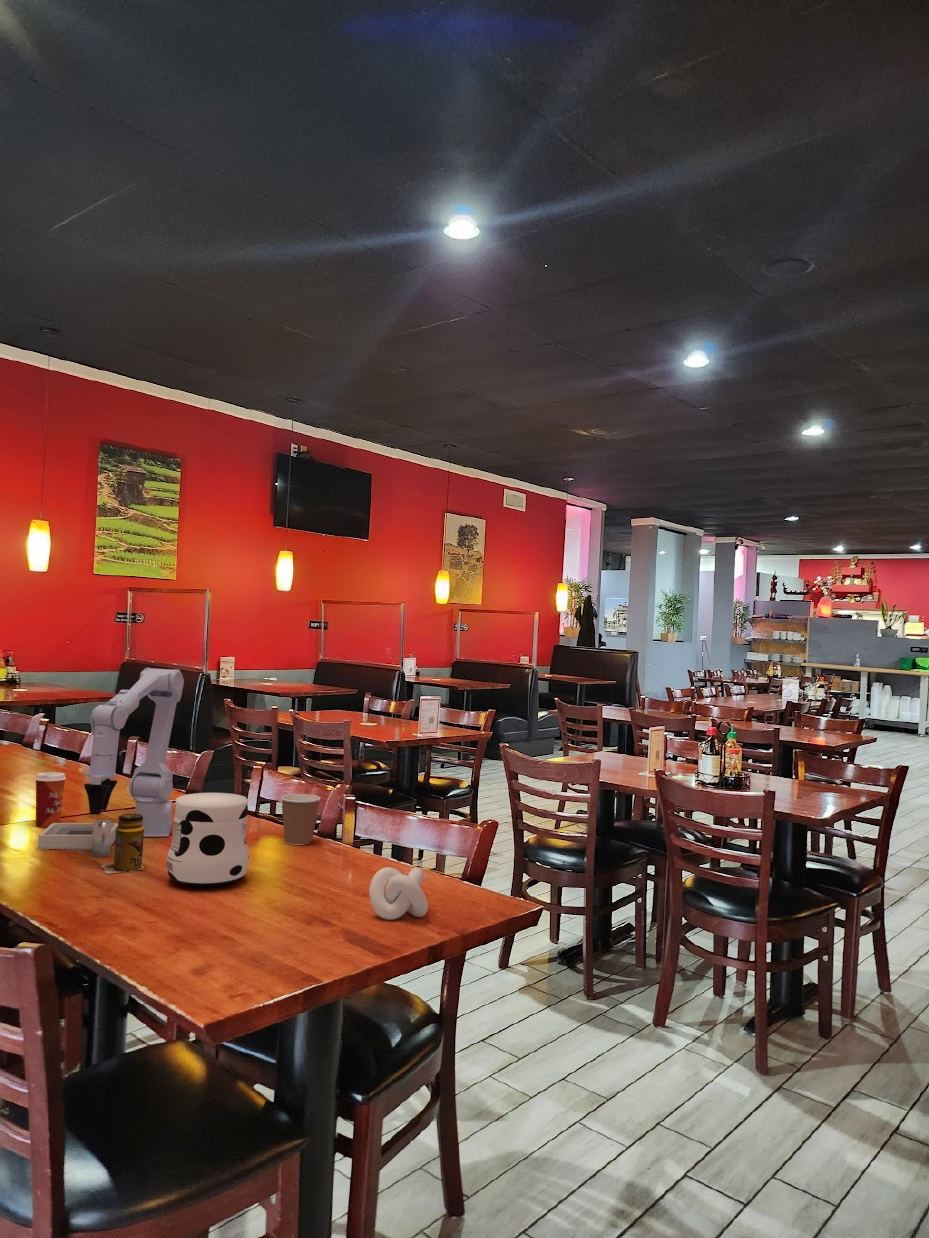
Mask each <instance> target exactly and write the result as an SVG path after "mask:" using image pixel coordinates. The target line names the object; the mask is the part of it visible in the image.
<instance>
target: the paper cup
mask: <svg viewBox="0 0 929 1238" xmlns="http://www.w3.org/2000/svg"><path fill="white" fill-rule="evenodd" d="M65 780H67V777H66V774H65V773H64V772H58V771H46V772H38V773H37V774H36V777H34V781H35V827H36V828H39V829H42V828H43V829H47V828H48V827H49V826H50V825H51V824H52V823H60V821H61V814H62V804H63V796H64V790H65V789H64V788H65V782H66V781H65Z"/></svg>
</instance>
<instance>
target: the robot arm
mask: <svg viewBox="0 0 929 1238" xmlns="http://www.w3.org/2000/svg"><path fill="white" fill-rule="evenodd" d="M184 684H185V680H184V676H183V674H182V672H181V670H180V669H178V668H177V669H167V668H166V669H165V668H151V667H145V668H144V669H143V670H142V671H141V672H140V675H139V679H138V681H136V682H135V684H133V686H131V687H130V689H121V690H119V691H118V693H117V694H116V695H114V696H113V697H112V698H111V699H110V700H108V701H107V702H106V703H105V704H99V705H97V706H96V707H94V708H93V710H92V711H91V715H89V723H90V725H91V735H92V736H93V737H92V746H91V756H90V757H91V758H90V765H89V766H90V767H89V772H84V773H83V776H84V777H89V778H91V781H90V782H91V783H87V782H86V783H84V784H83V785H84V790H85V791H86V795H87V799H88V801H87V802H88V809H89V814H90V815H93V816H96V815H98V816H100V815H101V812H102V811H106V810H107V809H108V805H109V802H110V799H111V796H112V793H113V791H114V789H115V787H116V785H117V783H118V780H115V778H116V777H117V774H116V769H117V760H118V759H117V757H118V750H119V749H118V748H119V739H120V732H121V729H124V727H125V725H126V722H127V720H128V718H129V715H131V714H132V713H133V712H134V711H135V710H137V708H138V707H139V705H140V701H141V700H142V699H143V698H144V697H146V696H147V697H148V698H149V699H150V700H152V701H153V702H154V703H155V708H154V714H153V720H152V724H151V729H150V733H149V734H150V735H149V739H148V743H147V744H148V745H147V750H146V753H145V754H146V755H145V759H144V762H143V763H142V764H140V765H139V766H137V767H135V769H134V772H133V775H132V778H131V779H130V781H129V786H128V791H129V794H130V797H132V800H133V801H134V802H135V807H134V809H135V810H134V814H141V815H142V816H143V825H142V826H143V827H144V838H148V837H149V838H157V837H158V838H162V837H163V838H164V837H165V838H167V837H169V836H170V834H171V831H172V828H173V827H172V826H173V822H172V820H173V801H172V800H168V799H169V797H171V796H172V795H171V794H172V792H173V787H174V785H173V775H174V773H173V772H172V770H171V769H170V768H169V767H168V766H167V765H166V759H167V756H168V755H167V754H168V750H169V749H168V748H169V744H170V739H171V733H172V728H173V724H174V719H175V718H174V717H175V713H176V708H177V704H178V703H179V702H180V701H181V699H182V694H183V688H184ZM113 778H114V779H113Z"/></svg>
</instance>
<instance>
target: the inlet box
mask: <svg viewBox="0 0 929 1238" xmlns="http://www.w3.org/2000/svg"><path fill="white" fill-rule="evenodd" d="M117 827H118V822H113V823H111V838H110V848H111V847H112V846H113V845H114V844H115V836H116V828H117ZM92 837H93V822H59V823H52V824H51V825H50V826H49V827H48V828H45V829H44V830H43V831H42V832H41V833H40V834H38V838H37V839H38V840H37V850H38V849H45V850H44V851H47V850H46V849H52V850H51V851H54V850H53V849H56V850H55V851H92ZM112 844H113V845H112ZM57 849H59V850H57ZM60 849H61V850H60ZM64 849H65V850H64ZM75 849H76V850H75Z"/></svg>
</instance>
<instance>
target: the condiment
mask: <svg viewBox="0 0 929 1238" xmlns="http://www.w3.org/2000/svg"><path fill="white" fill-rule="evenodd" d="M117 823H118V827H117V828H116V836H115V842H114V853H113V854H114V855H113V863H112V864H106V863H105V864H100V867H101V869H103V868H104V869H105V868H114V869H112V870H116V871H122V872H115V871H113V872H112V871H111V869H110V870H109V869H108V870H105V871H104V872H105V873H106V874H107V875H108V874H109V875H110V874H118V873H119V874H120V873H127V872H126V871H129V872H128V873H132V872H135V871H134V870H138V869H140V868H145V867H144V866H143V865H142V864H143V855H144V854H143V852H144V839H145V837H144V827H143V826H142V825H143V816H142V815H141V814H135V813H123V814H120V815H119V816H118V821H117ZM146 870H147V869H146V868H145V870H144V871H146ZM123 871H124V872H123Z"/></svg>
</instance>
